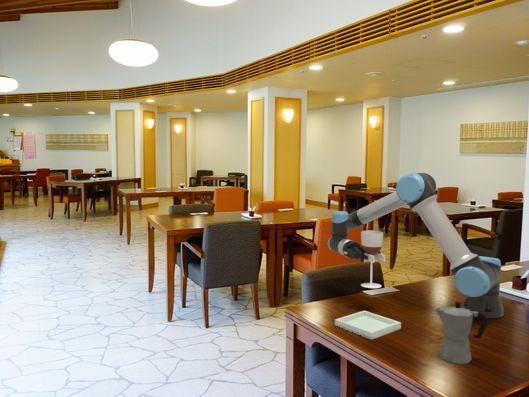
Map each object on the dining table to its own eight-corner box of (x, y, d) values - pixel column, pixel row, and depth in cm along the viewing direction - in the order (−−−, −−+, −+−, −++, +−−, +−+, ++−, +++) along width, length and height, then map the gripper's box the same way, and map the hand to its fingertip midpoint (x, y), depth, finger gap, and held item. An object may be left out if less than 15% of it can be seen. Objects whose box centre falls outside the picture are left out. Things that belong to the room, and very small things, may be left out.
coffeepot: (431, 359, 142) (434, 303, 141) (434, 348, 151) (436, 295, 149) (486, 369, 136) (489, 310, 135) (486, 357, 145) (488, 301, 143)
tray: (400, 328, 169) (401, 322, 169) (371, 339, 158) (371, 332, 158) (364, 316, 182) (364, 310, 182) (334, 325, 171) (334, 319, 171)
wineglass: (378, 282, 193) (379, 230, 191) (385, 288, 183) (386, 233, 182) (357, 282, 193) (358, 230, 191) (363, 288, 183) (364, 234, 181)
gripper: (366, 255, 207) (397, 266, 185) (332, 258, 202) (359, 269, 179) (366, 239, 207) (397, 248, 184) (332, 241, 201) (360, 251, 179)
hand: (378, 259), depth 182 cm, fingers closed on wineglass, 4 cm apart
